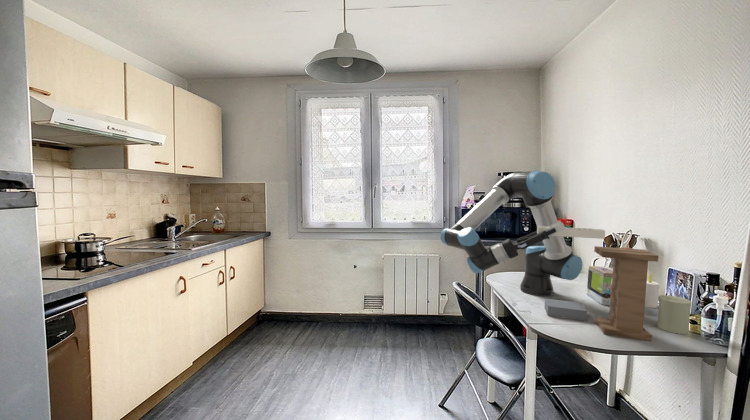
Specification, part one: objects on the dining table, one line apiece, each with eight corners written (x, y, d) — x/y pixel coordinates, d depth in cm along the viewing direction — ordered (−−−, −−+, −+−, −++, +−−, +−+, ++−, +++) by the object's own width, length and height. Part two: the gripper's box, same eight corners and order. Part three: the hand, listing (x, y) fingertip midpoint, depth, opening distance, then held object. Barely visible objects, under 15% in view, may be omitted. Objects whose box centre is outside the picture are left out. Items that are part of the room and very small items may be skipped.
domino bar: (536, 233, 135) (537, 225, 135) (601, 237, 128) (601, 229, 127) (538, 235, 131) (538, 227, 131) (604, 238, 124) (605, 230, 123)
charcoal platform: (544, 307, 149) (544, 298, 149) (581, 312, 144) (581, 302, 144) (547, 315, 140) (547, 306, 139) (586, 320, 135) (587, 311, 134)
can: (650, 323, 133) (652, 293, 132) (672, 323, 133) (674, 293, 133) (672, 334, 124) (675, 302, 123) (696, 334, 124) (698, 302, 123)
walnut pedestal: (589, 321, 134) (594, 246, 132) (638, 327, 129) (644, 249, 127) (597, 333, 123) (603, 251, 121) (651, 341, 118) (658, 255, 115)
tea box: (625, 306, 152) (628, 274, 151) (601, 305, 153) (603, 272, 152) (608, 295, 167) (610, 266, 165) (585, 294, 168) (587, 265, 167)
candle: (659, 305, 154) (662, 273, 152) (655, 308, 150) (658, 275, 148) (642, 301, 159) (644, 270, 157) (637, 304, 154) (640, 272, 153)
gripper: (508, 255, 145) (563, 230, 138) (510, 263, 129) (572, 236, 121) (500, 239, 146) (554, 214, 138) (500, 246, 130) (561, 218, 122)
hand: (562, 224), depth 130 cm, fingers closed on domino bar, 4 cm apart
